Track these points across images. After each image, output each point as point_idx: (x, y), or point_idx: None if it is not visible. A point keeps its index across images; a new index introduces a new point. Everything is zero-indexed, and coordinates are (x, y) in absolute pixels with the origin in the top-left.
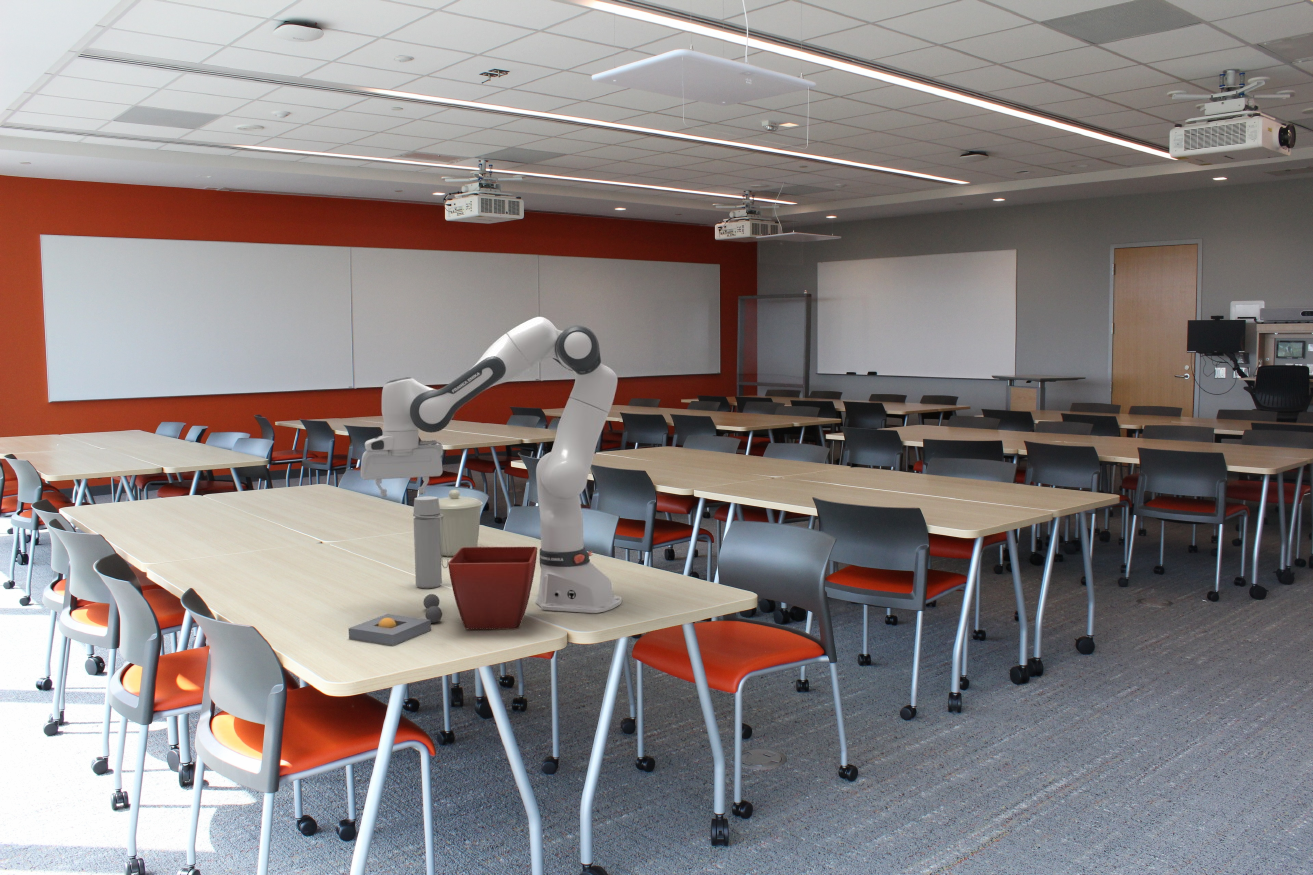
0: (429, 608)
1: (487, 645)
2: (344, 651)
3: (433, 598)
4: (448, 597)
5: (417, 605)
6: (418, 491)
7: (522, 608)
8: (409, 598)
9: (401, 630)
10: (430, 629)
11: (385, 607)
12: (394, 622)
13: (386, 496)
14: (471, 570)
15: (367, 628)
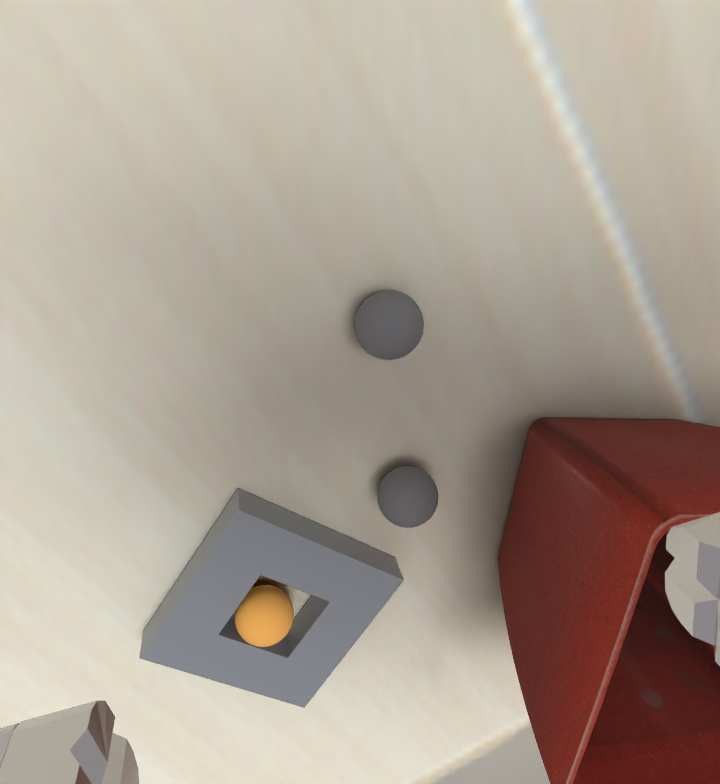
0: (400, 520)
1: None
2: (169, 721)
3: (404, 354)
4: (445, 103)
5: (312, 234)
6: (697, 539)
7: None
8: (252, 81)
9: (323, 673)
10: (394, 559)
11: (165, 246)
12: (291, 625)
13: (128, 753)
14: (626, 772)
15: (208, 659)
